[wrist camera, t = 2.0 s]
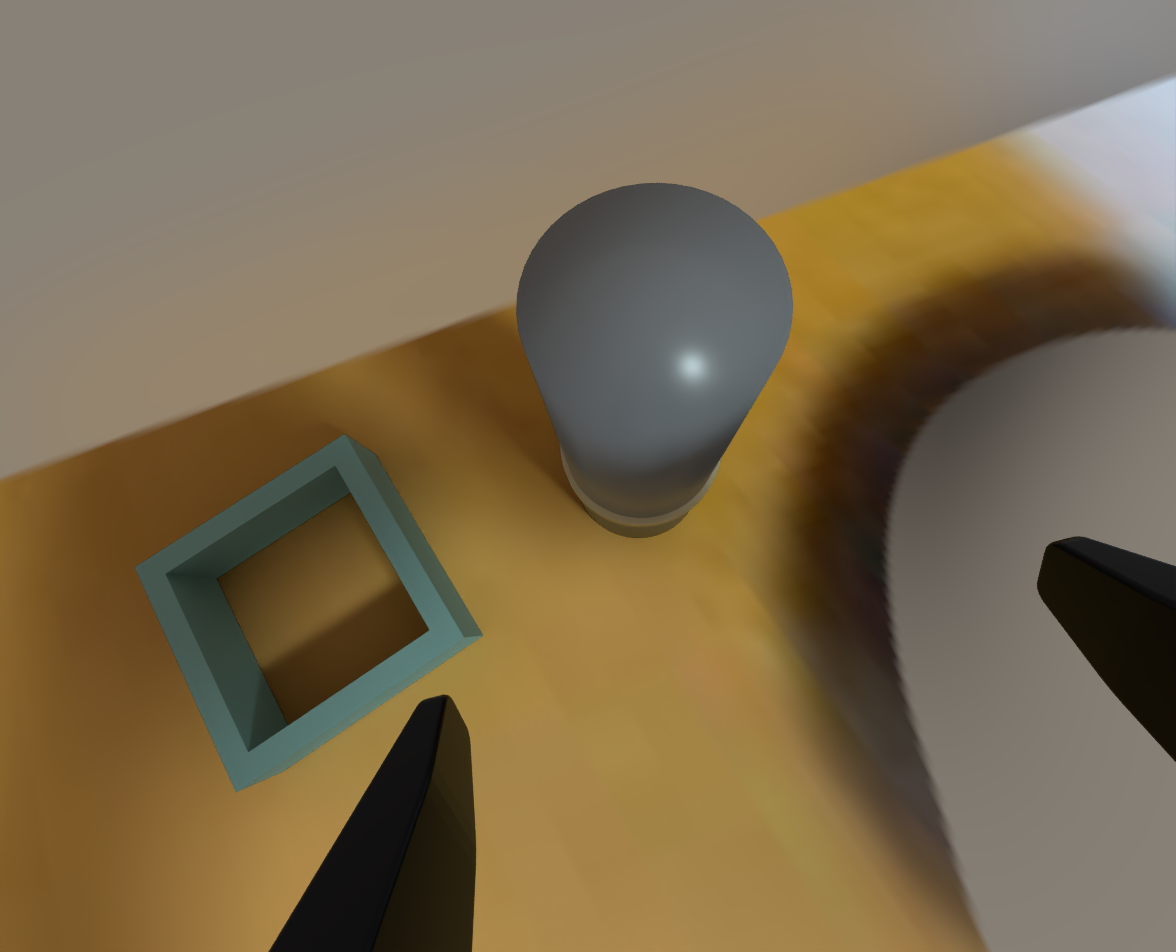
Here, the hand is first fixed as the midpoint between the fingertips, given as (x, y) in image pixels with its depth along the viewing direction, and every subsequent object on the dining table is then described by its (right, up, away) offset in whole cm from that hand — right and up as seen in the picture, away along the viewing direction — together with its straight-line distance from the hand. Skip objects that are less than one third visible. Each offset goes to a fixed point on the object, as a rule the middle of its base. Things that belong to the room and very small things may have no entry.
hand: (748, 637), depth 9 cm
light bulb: (-1, +2, +13) cm, 13 cm away
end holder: (-12, -2, +13) cm, 17 cm away
